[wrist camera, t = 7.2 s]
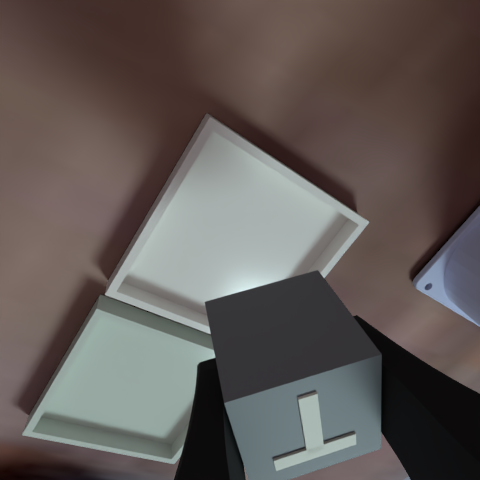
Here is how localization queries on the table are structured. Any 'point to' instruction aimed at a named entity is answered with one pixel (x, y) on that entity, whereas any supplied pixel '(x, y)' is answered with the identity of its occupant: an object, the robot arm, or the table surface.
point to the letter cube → (295, 377)
